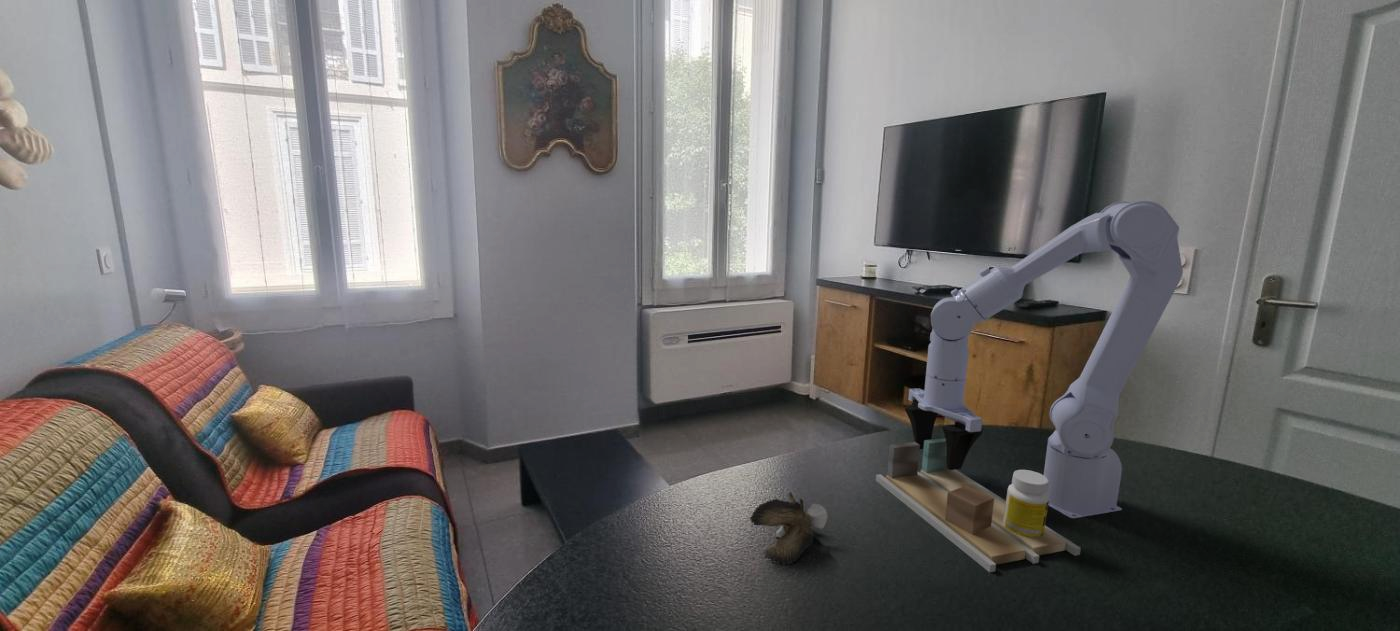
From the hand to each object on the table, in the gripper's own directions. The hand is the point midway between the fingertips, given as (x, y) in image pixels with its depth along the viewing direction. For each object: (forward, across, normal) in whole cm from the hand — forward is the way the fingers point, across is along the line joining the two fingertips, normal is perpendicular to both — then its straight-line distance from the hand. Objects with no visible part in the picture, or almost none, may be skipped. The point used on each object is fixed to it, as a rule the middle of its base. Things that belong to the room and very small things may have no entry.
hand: (937, 458), depth 91 cm
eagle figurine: (+4, +10, -30) cm, 32 cm away
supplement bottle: (+3, +17, 0) cm, 17 cm away
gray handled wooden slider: (+3, +10, -6) cm, 13 cm away
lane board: (+4, +10, -3) cm, 12 cm away
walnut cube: (+2, +14, -6) cm, 16 cm away
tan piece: (+3, +10, 0) cm, 11 cm away
